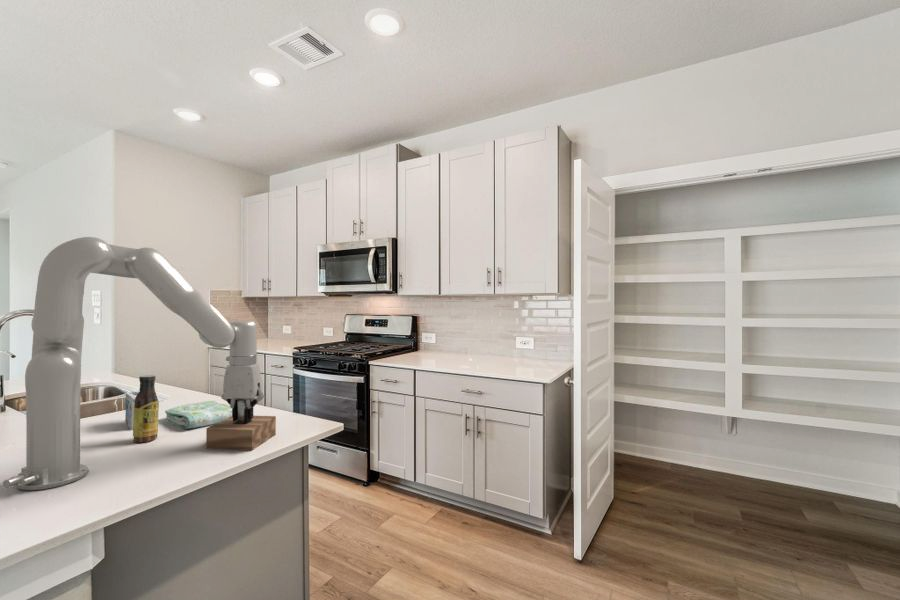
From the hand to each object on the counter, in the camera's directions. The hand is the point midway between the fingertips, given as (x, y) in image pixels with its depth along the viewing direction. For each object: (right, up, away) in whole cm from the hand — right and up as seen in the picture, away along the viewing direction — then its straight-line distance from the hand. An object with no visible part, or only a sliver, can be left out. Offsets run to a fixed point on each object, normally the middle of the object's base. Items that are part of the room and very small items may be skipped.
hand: (242, 419), depth 129 cm
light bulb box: (-43, -6, +15) cm, 46 cm away
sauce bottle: (-30, -7, 0) cm, 31 cm away
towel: (-25, -7, +22) cm, 34 cm away
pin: (0, -4, 0) cm, 4 cm away
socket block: (0, -7, 0) cm, 7 cm away
